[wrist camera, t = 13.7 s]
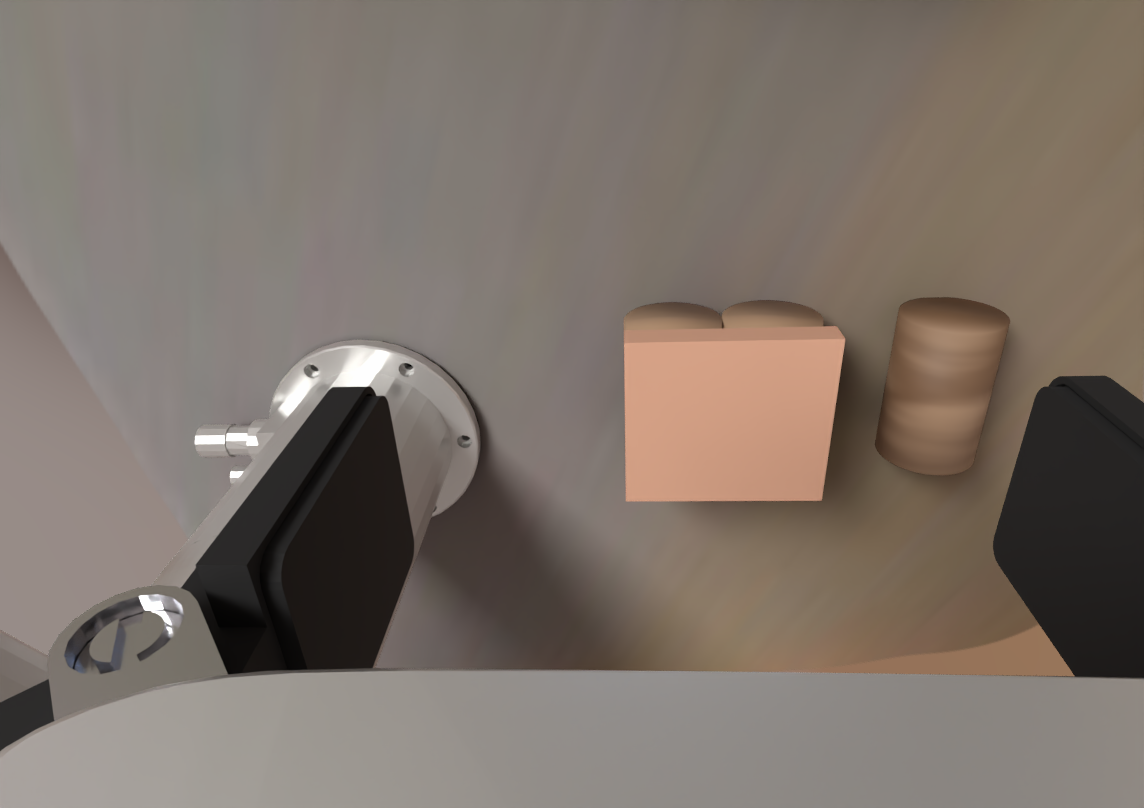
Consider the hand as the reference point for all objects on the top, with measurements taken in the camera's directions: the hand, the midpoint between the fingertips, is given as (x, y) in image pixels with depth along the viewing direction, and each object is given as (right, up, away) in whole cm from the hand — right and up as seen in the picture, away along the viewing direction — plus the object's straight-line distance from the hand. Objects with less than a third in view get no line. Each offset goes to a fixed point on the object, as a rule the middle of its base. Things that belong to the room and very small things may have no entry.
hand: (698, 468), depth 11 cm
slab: (+6, +3, +30) cm, 31 cm away
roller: (+18, +3, +30) cm, 35 cm away
